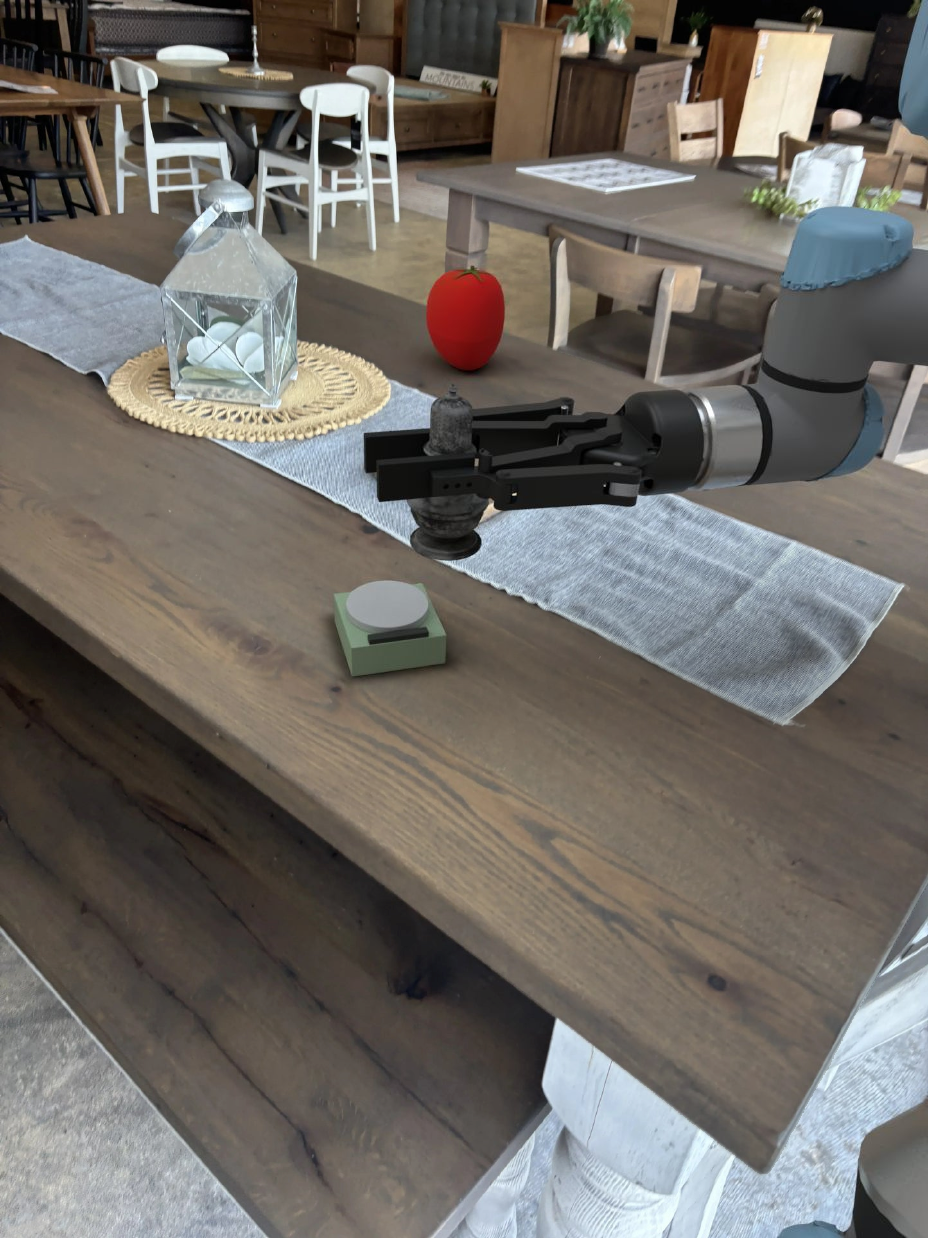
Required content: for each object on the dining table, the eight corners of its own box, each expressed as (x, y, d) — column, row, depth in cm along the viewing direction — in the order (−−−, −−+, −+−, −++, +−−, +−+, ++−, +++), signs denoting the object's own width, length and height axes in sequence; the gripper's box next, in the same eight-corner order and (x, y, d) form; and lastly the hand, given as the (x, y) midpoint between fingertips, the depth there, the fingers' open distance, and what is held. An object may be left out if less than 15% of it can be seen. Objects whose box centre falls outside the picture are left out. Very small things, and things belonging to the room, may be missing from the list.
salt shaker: (468, 570, 63) (478, 408, 56) (391, 550, 65) (392, 390, 58) (497, 532, 68) (510, 377, 61) (425, 514, 69) (430, 361, 62)
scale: (445, 663, 77) (447, 627, 75) (351, 677, 75) (351, 640, 72) (421, 610, 83) (422, 575, 81) (334, 621, 81) (333, 585, 79)
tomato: (505, 381, 130) (513, 279, 122) (426, 379, 129) (429, 276, 121) (495, 350, 140) (502, 255, 132) (422, 349, 139) (425, 252, 131)
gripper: (727, 541, 63) (398, 580, 57) (627, 440, 76) (349, 463, 70) (753, 441, 59) (399, 471, 52) (642, 352, 71) (347, 368, 65)
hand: (371, 466), depth 61 cm, fingers closed on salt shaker, 4 cm apart
